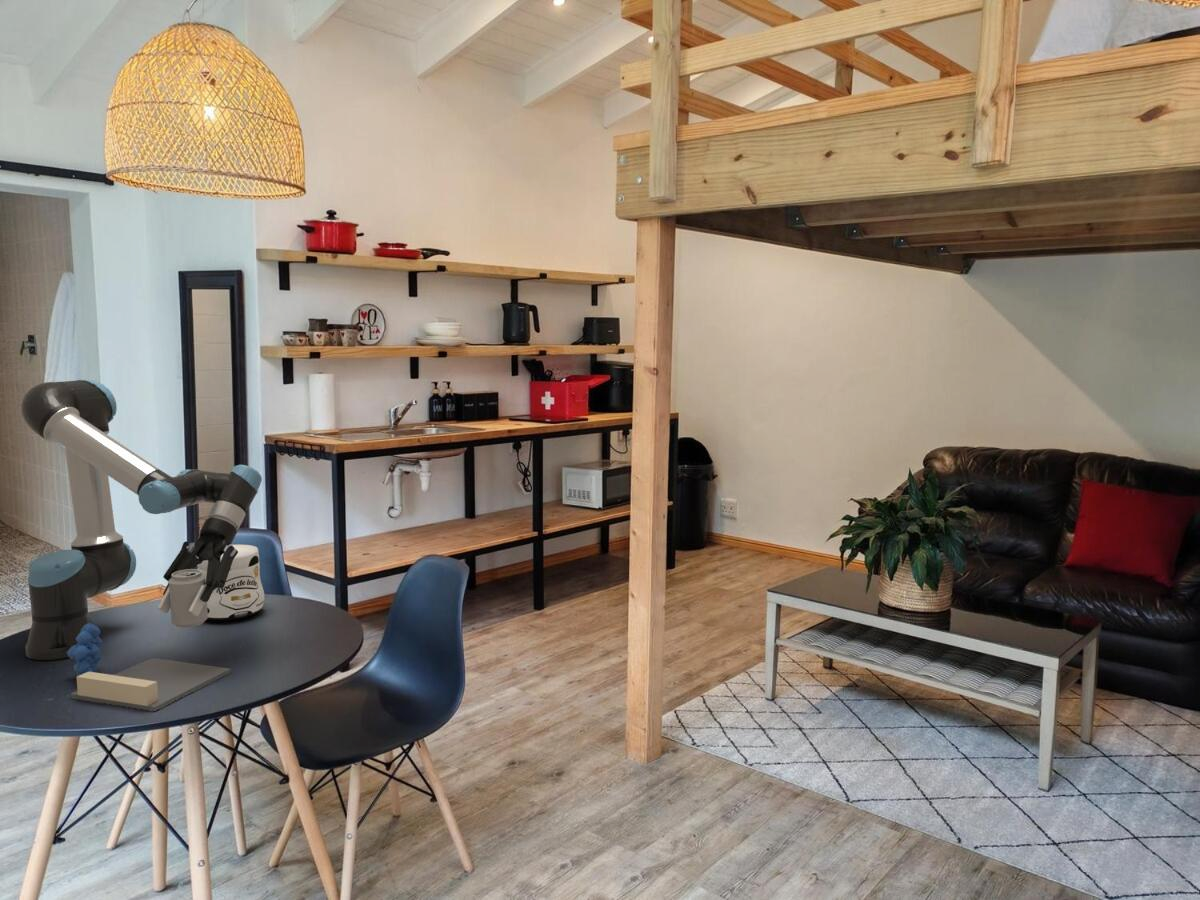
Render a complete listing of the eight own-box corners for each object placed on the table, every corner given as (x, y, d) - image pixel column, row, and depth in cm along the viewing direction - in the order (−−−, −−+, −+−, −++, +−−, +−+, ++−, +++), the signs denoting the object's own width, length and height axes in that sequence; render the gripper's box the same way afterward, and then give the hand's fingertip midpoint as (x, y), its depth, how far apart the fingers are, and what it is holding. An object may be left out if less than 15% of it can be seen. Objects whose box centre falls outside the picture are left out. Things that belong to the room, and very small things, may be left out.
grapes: (78, 668, 202) (74, 618, 200) (110, 666, 203) (107, 616, 202) (58, 688, 190) (54, 634, 189) (92, 686, 192) (88, 632, 190)
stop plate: (70, 698, 185) (69, 675, 184) (152, 662, 206) (151, 641, 205) (154, 711, 179) (153, 688, 178) (230, 672, 199) (229, 651, 199)
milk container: (240, 627, 231) (237, 560, 229) (182, 622, 235) (178, 556, 232) (277, 607, 248) (274, 545, 246) (222, 603, 251) (219, 542, 249)
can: (199, 628, 196) (195, 577, 194) (165, 629, 196) (161, 577, 194) (213, 617, 203) (210, 567, 202) (181, 617, 203) (177, 567, 201)
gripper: (267, 535, 209) (225, 623, 196) (195, 529, 214) (150, 615, 201) (251, 518, 203) (207, 608, 190) (177, 513, 208) (130, 600, 196)
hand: (177, 612), depth 196 cm, fingers closed on can, 7 cm apart
